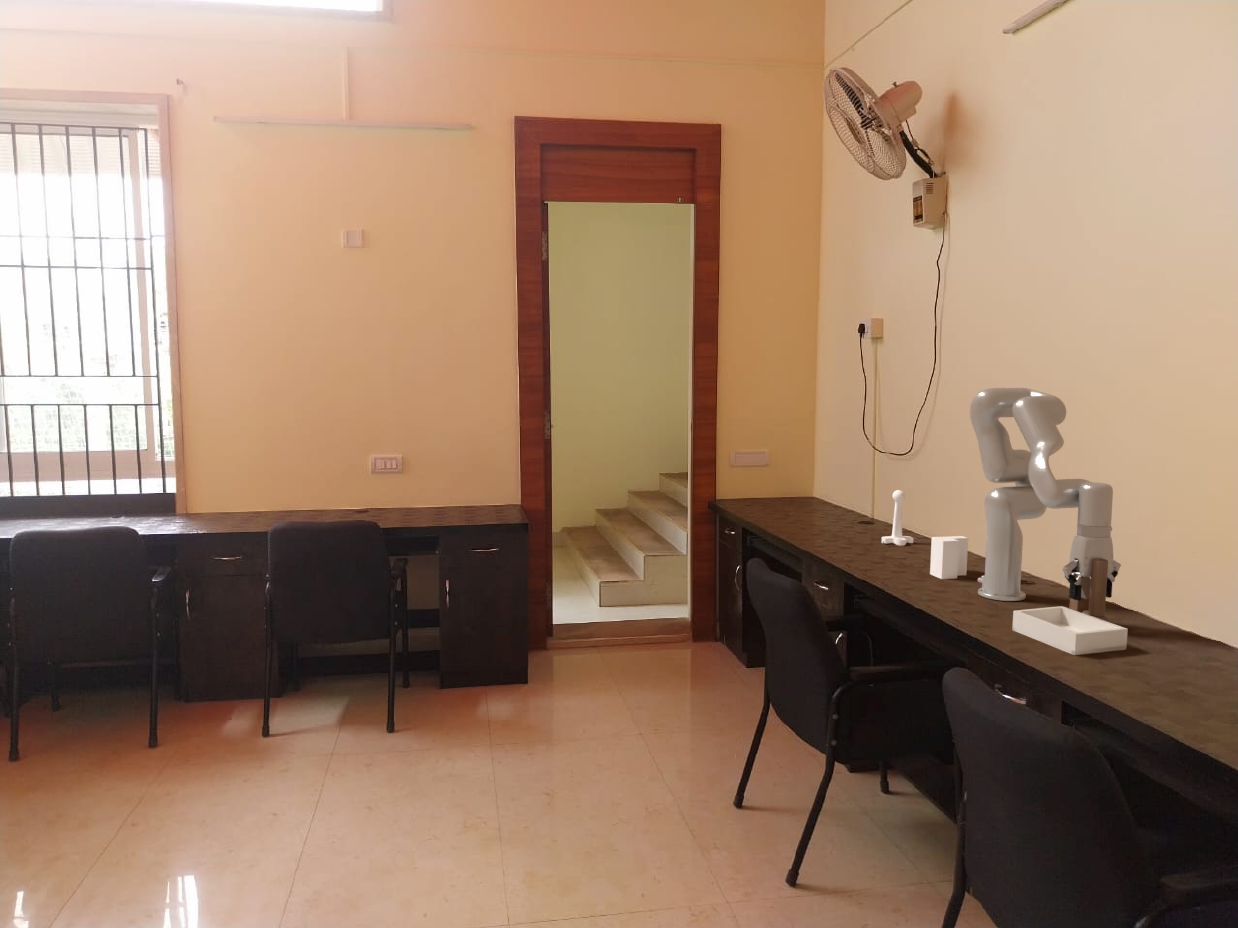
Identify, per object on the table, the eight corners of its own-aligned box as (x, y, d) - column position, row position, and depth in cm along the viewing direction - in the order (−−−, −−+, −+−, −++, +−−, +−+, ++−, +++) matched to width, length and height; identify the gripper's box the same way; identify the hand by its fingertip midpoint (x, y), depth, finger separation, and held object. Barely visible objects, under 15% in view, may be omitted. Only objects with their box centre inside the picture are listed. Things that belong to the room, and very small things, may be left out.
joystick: (908, 541, 330) (910, 489, 328) (917, 545, 323) (919, 492, 320) (880, 542, 329) (882, 489, 327) (887, 546, 322) (889, 492, 319)
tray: (1012, 630, 221) (1013, 610, 220) (1060, 625, 225) (1061, 606, 224) (1074, 655, 202) (1076, 634, 201) (1126, 649, 206) (1127, 628, 205)
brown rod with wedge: (1081, 619, 230) (1085, 551, 228) (1107, 631, 220) (1112, 561, 218) (1067, 619, 230) (1072, 552, 228) (1093, 631, 219) (1098, 561, 217)
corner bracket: (941, 579, 273) (943, 541, 271) (922, 570, 284) (923, 534, 282) (972, 577, 275) (974, 540, 274) (952, 569, 286) (953, 533, 285)
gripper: (1108, 527, 228) (1105, 591, 230) (1054, 530, 223) (1051, 596, 225) (1133, 532, 221) (1129, 598, 223) (1077, 536, 216) (1074, 604, 218)
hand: (1090, 597), depth 224 cm, fingers open, 9 cm apart
